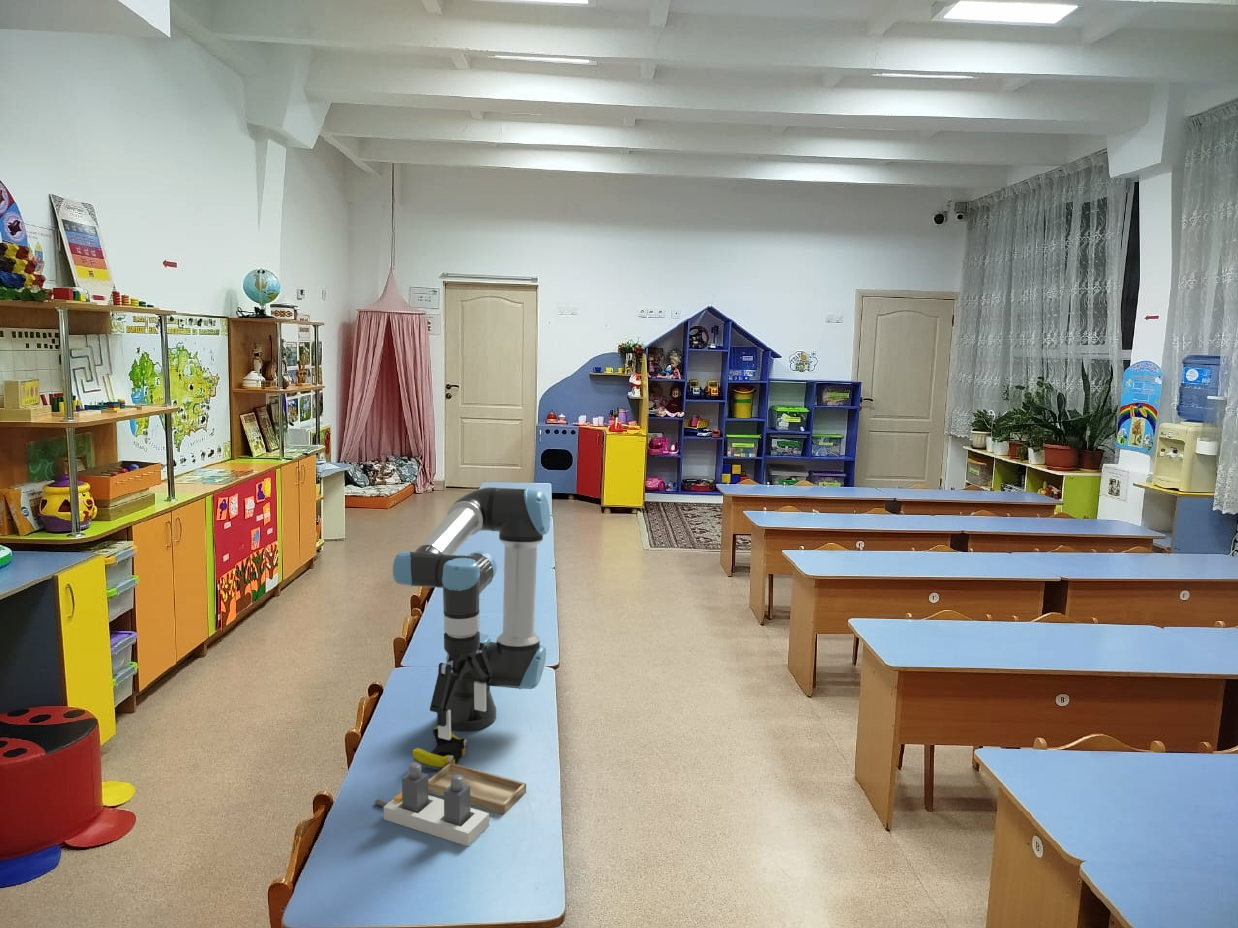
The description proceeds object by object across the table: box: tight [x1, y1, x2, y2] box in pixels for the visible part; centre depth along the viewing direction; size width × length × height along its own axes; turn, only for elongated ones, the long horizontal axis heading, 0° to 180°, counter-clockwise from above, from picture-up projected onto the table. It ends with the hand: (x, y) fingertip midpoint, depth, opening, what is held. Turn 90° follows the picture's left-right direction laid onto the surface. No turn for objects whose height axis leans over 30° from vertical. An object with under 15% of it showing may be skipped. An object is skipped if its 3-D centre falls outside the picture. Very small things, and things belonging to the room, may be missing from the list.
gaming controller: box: [412, 726, 468, 772], centre depth 207 cm, size 15×6×10 cm
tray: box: [428, 763, 527, 815], centre depth 194 cm, size 10×21×2 cm, turn 66°
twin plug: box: [401, 762, 429, 813], centre depth 183 cm, size 4×4×12 cm
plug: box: [443, 775, 471, 827], centre depth 179 cm, size 4×4×12 cm
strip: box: [374, 791, 490, 847], centre depth 182 cm, size 8×28×4 cm, turn 66°
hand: (463, 723), depth 181 cm, fingers open, 13 cm apart
